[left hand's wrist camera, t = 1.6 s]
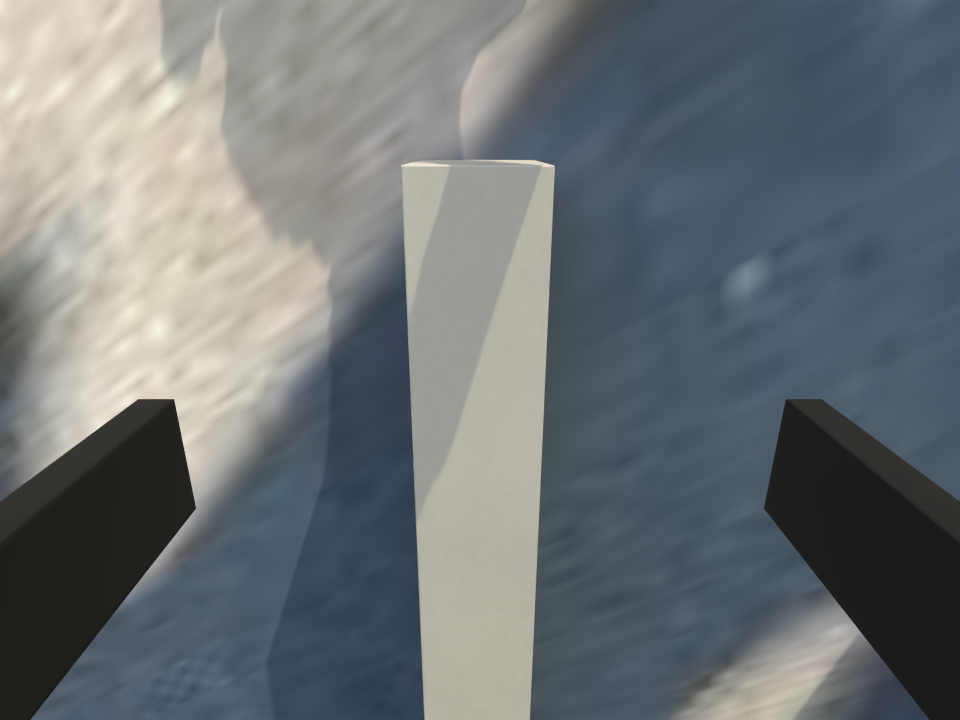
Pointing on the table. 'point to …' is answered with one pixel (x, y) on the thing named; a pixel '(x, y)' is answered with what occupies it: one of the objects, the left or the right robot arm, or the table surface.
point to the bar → (477, 422)
